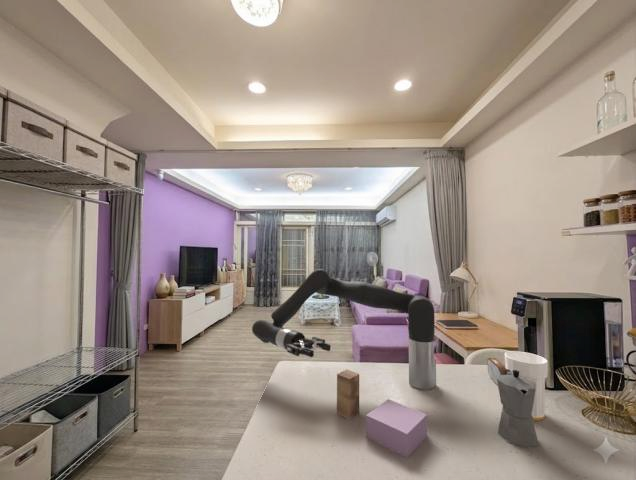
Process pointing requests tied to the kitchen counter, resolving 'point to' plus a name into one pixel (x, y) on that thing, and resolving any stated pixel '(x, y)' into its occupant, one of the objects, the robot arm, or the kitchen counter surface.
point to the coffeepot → (517, 409)
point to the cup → (530, 376)
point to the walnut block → (348, 393)
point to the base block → (396, 427)
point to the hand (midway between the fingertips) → (321, 350)
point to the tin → (495, 368)
